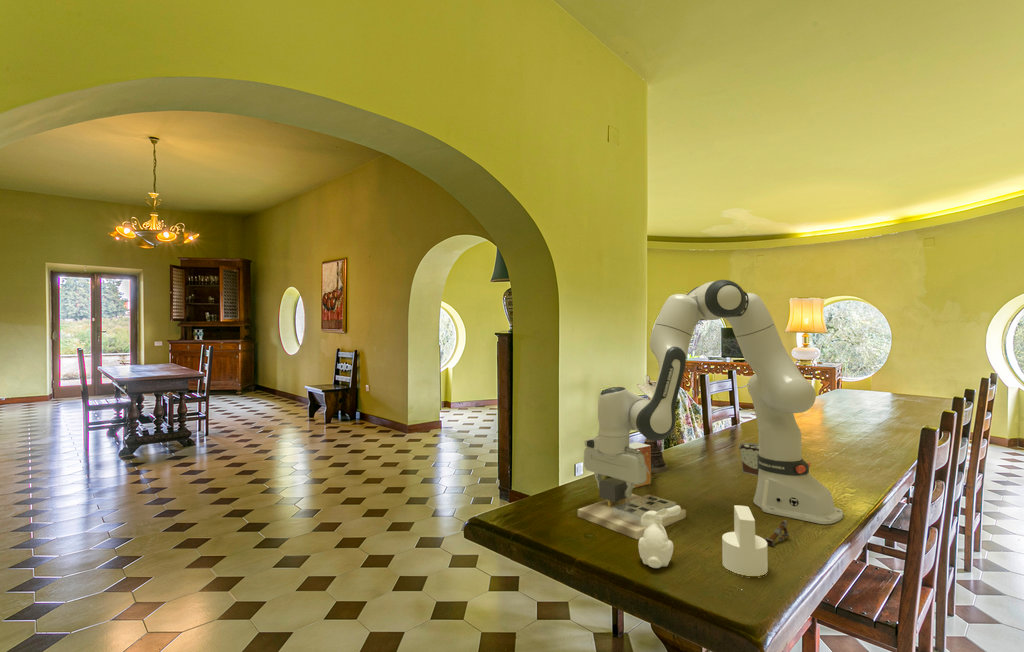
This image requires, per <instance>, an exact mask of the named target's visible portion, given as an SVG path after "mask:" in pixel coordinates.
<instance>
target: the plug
mask: <svg viewBox="0 0 1024 652" xmlns="http://www.w3.org/2000/svg"><path fill="white" fill-rule="evenodd" d="M627 487H628V485H626V481H623V480H619V479H616V478H612V477H609V478H605V479H603V480H602V481H599V488H598V492H599V493H598V496H599V498H601V499H603V500H606V499H607V500H608V506H612V505H613V502H617V501H620V504H624V503H625V498H628V497H625V496H624V490H626V489H627Z"/></svg>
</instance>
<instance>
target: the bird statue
mask: <svg viewBox="0 0 1024 652" xmlns="http://www.w3.org/2000/svg"><path fill="white" fill-rule="evenodd" d="M655 385H656V382H655V381H651V378H650V376H649V375H648V374H646V375H645V382H644V385H643V384H640V383H638V384H636V387H637V388H638V390H640V391H642V392H643V393H644V394H645V395H646V396H647V399H649V400H651V398H652V396H653V392H654V389H655ZM676 404H678V401H676ZM643 441H644V442H643V444H647V445H650V446H651V473H654V474H656V473H657V474H658V473H659V474H660V473H663V472H667V471H669V469H668V464H667V463H666V462H665V459H664V457H663V455H664V454H663V452H662V450H661V449H660V448H659V446H658V445H659V444H658V443H657V442H658V441H652V440H649V439H647V438H646V437H645V439H644V440H643Z"/></svg>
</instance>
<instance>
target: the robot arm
mask: <svg viewBox="0 0 1024 652" xmlns="http://www.w3.org/2000/svg"><path fill="white" fill-rule="evenodd" d="M723 318H724V319H725V320H726V321H727V322H728V324H729V325H730V326H731V328H732V332H733V334H734V336H735V339H736V342H737V345H738V347H739V349H740V352H741V354H742V356H743V359H744V361H745V362H746V363H747V365H749V367H750V368H751V370H752V372H754V374H752V375H751V376H750V377H749V379H748V382H747V392H748V394H749V395H750V397H751V400H752V405H753V408H754V414H755V419H756V422H757V429H758V431H757V432H758V444H759V454H758V455H757V470H758V476H757V485H756V488H755V494H754V497H753V500H752V501H753V503H754V504H755V505H756V506H757V507H759V508H760V509H761V511H762V512H763V513H767V514H771V515H775V516H781V517H785V518H789V519H795V520H799V521H806V522H811V523H815V524H819V525H830V524H834V523H837V522H840V521H841V520H842V519H843V518H844V512H843V509H841V508H839V507H836V506H835V505H834V504H835V503H834V498H833V495H832V493H831V491H830V489H829V488H827V486H825V485H824V484H822V483H821V482H820V481H819V480H818V479H816V478H815V477H814V476H813V475H812V474H811V473H810V467H811V466H812V465H811V464H812V463H811V462H810V461H809V462H808V463H807V462H806V461H805V460H804V459H803V458H802V432H801V429H800V427H799V425H798V423H797V420H796V419H795V415H794V414H799V413H801V414H802V413H805V412H807V411H809V410H810V409H811V408H812V407H813V406H814V405H815V401H816V398H817V394H816V389H815V388H814V386H813V385H812V383H810V382H809V381H808V380H807V378H805V377H804V375H803V374H802V372H801V371H800V369H799V367H797V364H796V363H795V362H794V361H793V359H792V357H791V355H790V354H789V353H788V352H787V350H786V348H785V346H784V343H783V341H782V339H781V336H780V334H779V331H778V329H777V327H776V324H775V321H774V319H773V317H772V315H771V313H770V311H769V310H768V308H767V306H766V304H765V303H764V301H763V299H762V298H761V297H760V296H759V295H758V294H756V293H753V292H746V291H744V289H743V288H742V287H741V286H740V285H739V284H738V283H736V282H735V281H732V280H729V279H719V280H713V281H707V282H706V283H704V284H702V285H699V286H696V287H693V289H691V290H690V291H689V292H687V294H685V293H675V294H672V295H670V296H668V298H666V300H665V302H664V303H663V305H662V307H661V309H660V311H659V313H658V315H657V318H656V320H655V322H654V325H653V328H652V331H651V334H650V339H649V349H650V350H651V353H652V354H653V356H654V357H655V358H656V360H657V363H658V367H659V368H658V375H657V379H656V381H655V383H656V385H655V389H654V392H653V396H652V398H651V400H649V399H648V398H646V397H643V396H640V395H637V394H635V393H633V392H631V391H629V390H628V389H627V388H626V387H625V386H624V387H623V386H614V387H608V388H605V389H603V390H602V391H601V392H600V393H599V397H598V405H597V421H598V425H599V426H598V431H597V436H595V437H592V438H591V437H590V438H588V439H587V438H586V439H585V440H584V447H585V448H584V450H583V451H584V452H583V467H584V468H585V470H586V471H589V472H592V473H593V474H594V478H595V481H596V482H597V489H599V481H602V480H604V479H603V476H606V477H609V478H616V479H619V480H623V481H626V485H628V487H627V489H626V490H624V496H625V497H628V498H629V497H631V496H632V494H633V489H634V486H635V484H637V485H639V484H642V483H644V482H645V481H646V479H647V476H646V467H645V457H644V455H643V453H642V452H640V450H638V449H633V448H629V443H630V433H631V431H636V432H639V433H640V434H641V435H642V436H643V437H645V439H646V438H647V439H649V440H652V441H657V442H660V441H663V440H665V439H666V438H669V437H670V435H672V433H673V431H674V429H675V426H676V407H677V403H676V401H677V400H678V396H679V393H680V389H681V384H682V381H683V377H684V374H685V368H686V363H687V354H688V351H689V347H690V344H691V341H692V337H693V335H694V333H695V327H697V325H698V324H699V322H700V321H715V320H716V321H717V320H719V319H723ZM677 402H678V401H677ZM640 453H641V454H640Z"/></svg>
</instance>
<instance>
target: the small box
mask: <svg viewBox="0 0 1024 652" xmlns="http://www.w3.org/2000/svg"><path fill="white" fill-rule="evenodd" d="M629 448H633V449H638V450H640V452H642V453H643V455H644V457H645V467H646V476H647V479H646V481H645V482H644V483H642V484H639V485H637V484H635V486H634V488H635V489H637V488H639V487H643V486H648V485H651V483H652V472H651V446H650V445H647V444H644V442H643V443H642V442H639V441H638V442H637V441H635V442H631V443H630V442H629ZM640 454H641V453H640ZM634 488H633V489H634Z"/></svg>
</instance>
